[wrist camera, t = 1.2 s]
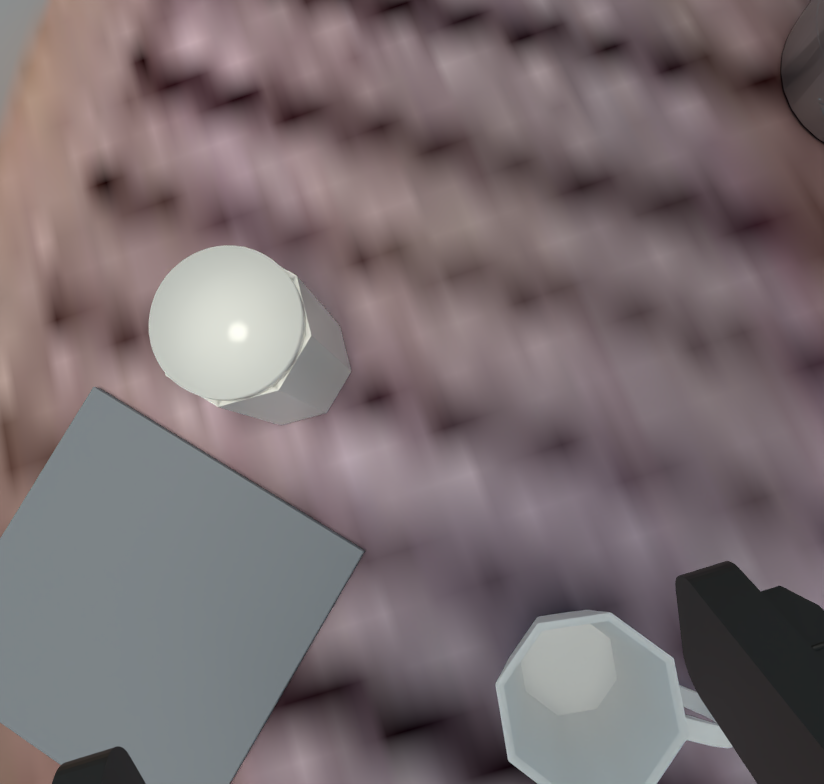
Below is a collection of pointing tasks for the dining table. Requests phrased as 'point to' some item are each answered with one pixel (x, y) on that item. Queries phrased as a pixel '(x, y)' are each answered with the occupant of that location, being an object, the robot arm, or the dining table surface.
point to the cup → (596, 703)
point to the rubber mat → (155, 600)
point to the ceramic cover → (247, 336)
